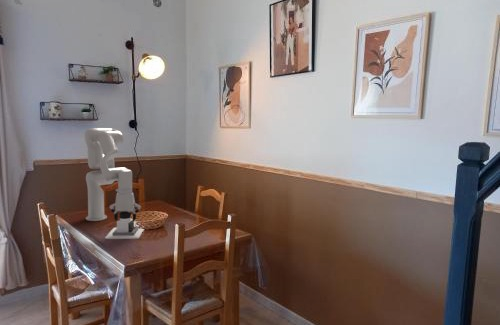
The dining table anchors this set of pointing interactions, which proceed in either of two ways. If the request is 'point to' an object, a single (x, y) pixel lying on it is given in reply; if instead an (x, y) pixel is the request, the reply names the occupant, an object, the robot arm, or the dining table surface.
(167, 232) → the dining table surface
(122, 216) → the medicine bottle
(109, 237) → the holder board
